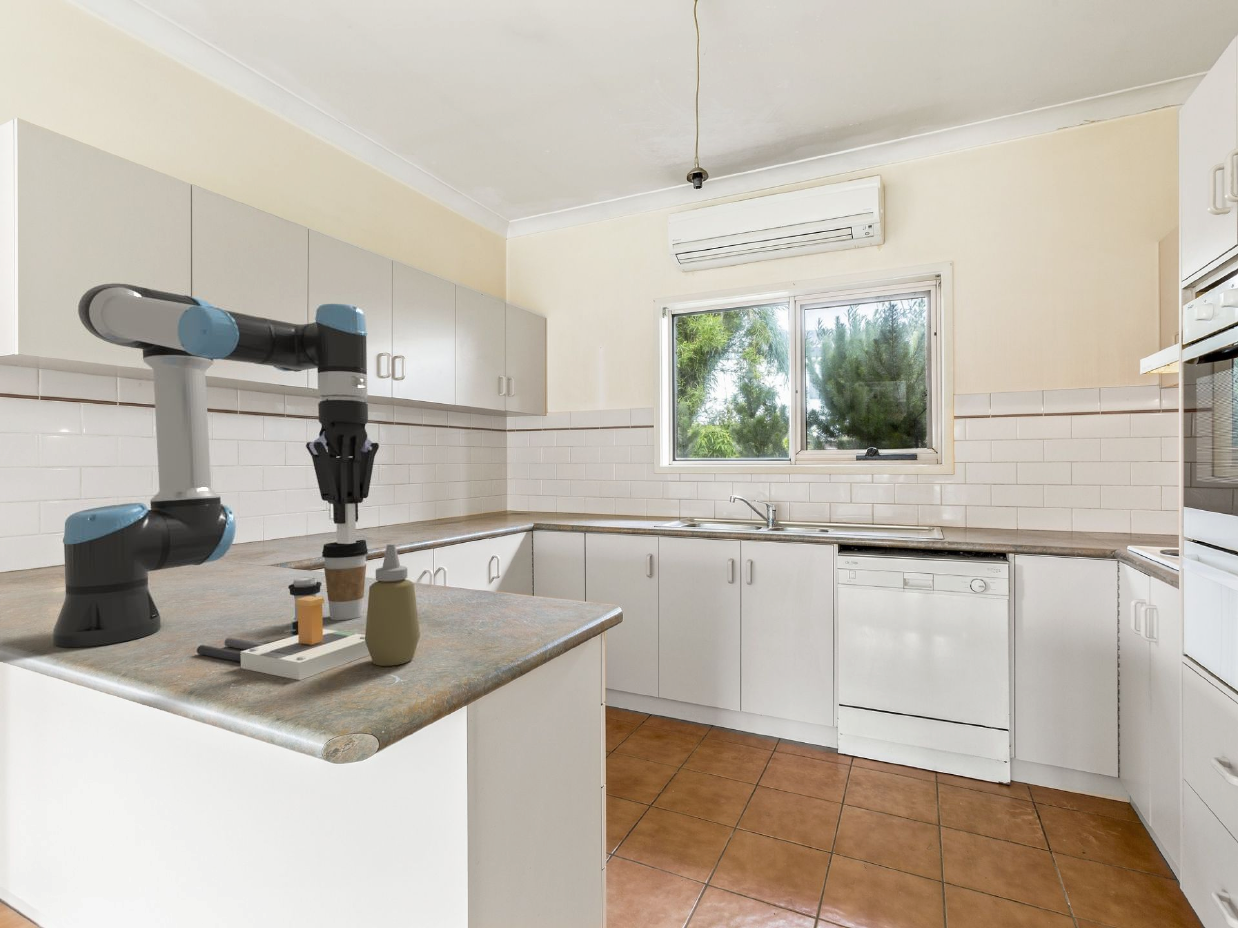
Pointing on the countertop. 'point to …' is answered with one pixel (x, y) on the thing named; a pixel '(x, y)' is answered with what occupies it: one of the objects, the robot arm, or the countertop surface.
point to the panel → (305, 655)
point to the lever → (310, 620)
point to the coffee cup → (345, 578)
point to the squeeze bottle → (392, 614)
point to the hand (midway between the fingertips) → (346, 542)
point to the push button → (300, 590)
